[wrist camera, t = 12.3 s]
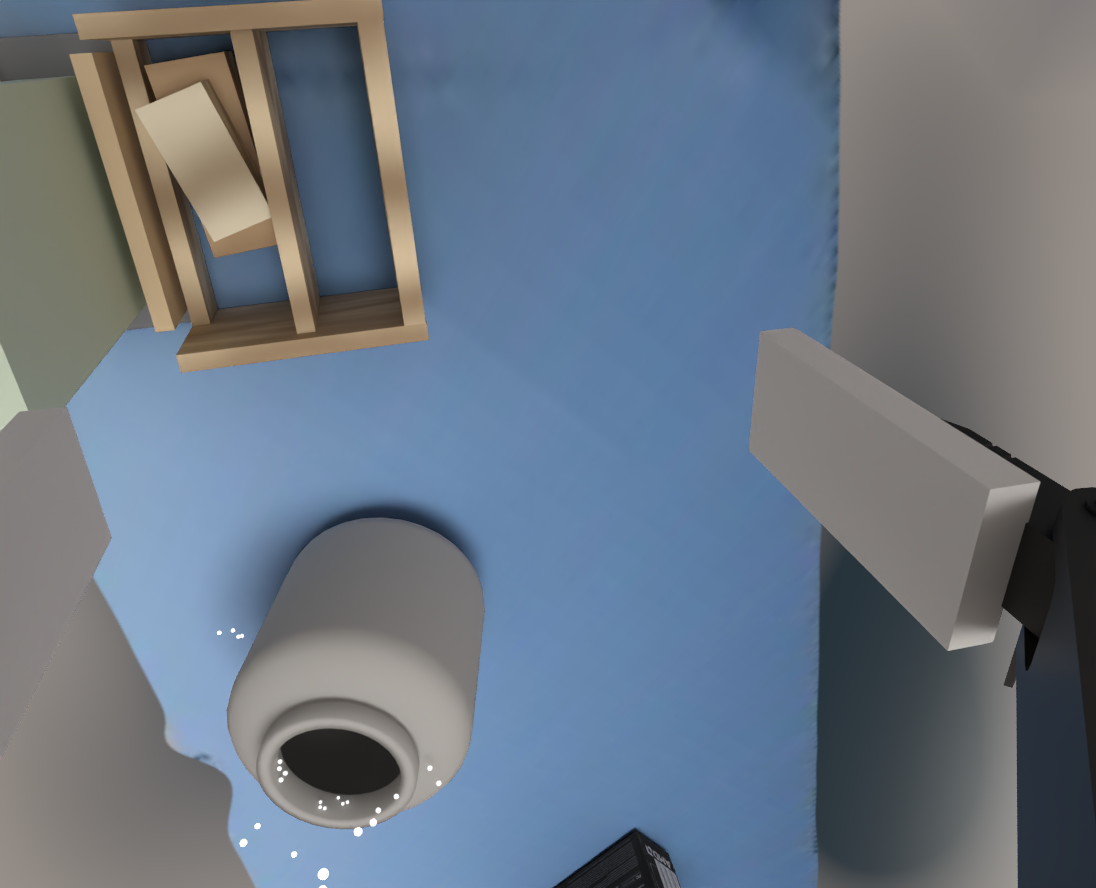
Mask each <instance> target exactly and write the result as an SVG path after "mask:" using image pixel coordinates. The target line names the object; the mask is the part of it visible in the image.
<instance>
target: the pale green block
mask: <svg viewBox="0 0 1096 888" xmlns="http://www.w3.org/2000/svg"><path fill="white" fill-rule="evenodd" d="M146 304H147V302H146V299H145V296H144V292H143V289H142V286H141V283H140V280H139V276H138V273H137V270H136V267H135V264H134V260H133V257H132V254H131V251H130V248H129V244H128V241H127V238H126V235H125V232H124V228H123V225H122V222H121V219H120V216H119V212H118V209H117V206H116V203H115V200H114V196H113V193H112V190H111V187H110V184H109V180H108V177H107V174H106V171H105V168H104V164H103V161H102V158H101V155H100V152H99V148H98V145H97V142H96V139H95V136H94V132H93V129H92V126H91V123H90V119H89V116H88V113H87V110H86V107H85V103H84V100H83V97H82V94H81V91H80V87H79V84H78V81H77V78H76V76H65V77H51V78H37V79H23V80H12V81H2V82H0V431H1V430H2V429H3V428H4V427H5V426H6V425H7V424H8V423H9V422H10V421H11V420H12V419H13V417H14V416H15V415H16V414H17V413H18V412H21V411H30V410H40V409H49V408H58V407H65V406H66V405H67V403H68V402H69V401H70V400H71V398H72V397H73V396H74V395H75V393H76V392H77V391H78V390H79V388H80V387H81V386H82V385H83V383H84V382H85V381H86V380H87V378H88V377H89V376H90V375H91V373H92V372H93V371H94V369H95V368H96V367H97V366H98V364H99V363H100V362H101V361H102V359H103V358H104V357H105V356H106V354H107V353H108V352H109V351H110V349H111V348H112V347H113V346H114V344H115V343H116V342H117V341H118V339H119V338H120V337H121V336H122V334H123V333H124V332H125V331H126V329H127V328H128V327H129V325H130V324H131V323H132V322H133V320H134V319H135V318H136V317H137V315H138V314H139V313H140V312H141V310H142V309H143V308H144V307H145V305H146Z"/></svg>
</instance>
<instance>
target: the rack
mask: <svg viewBox="0 0 1096 888" xmlns="http://www.w3.org/2000/svg"><path fill="white" fill-rule="evenodd" d="M72 15H73V18H74V21H75V24H76V28H77V31H78V34H79V38H80V40H109V41H111V44H112V47H113V51H114V54H115V58H116V61H117V65H118V68H119V72H120V75H121V79H122V82H123V86H124V89H125V93H126V96H127V100H128V103H129V106H130V110H131V113H132V117H133V120H134V124H135V127H136V131H137V134H138V138H139V141H140V145H141V148H142V152H143V155H144V159H145V162H146V166H147V169H148V172H149V176H150V179H151V183H152V186H153V190H154V193H155V197H156V200H157V204H158V207H159V211H160V214H161V218H162V221H163V225H164V228H165V232H166V235H167V239H168V242H169V245H170V249H171V252H172V256H173V259H174V263H175V266H176V270H177V273H178V277H179V280H180V284H181V287H182V291H183V294H184V298H185V301H186V305H187V308H188V311H189V315H190V318H191V322H192V325H193V327H192V328H191V330H190V332H189V334H188V335H187V337H186V339H185V341H184V342H183V344H182V346H181V348H180V349H179V351H178V353H177V355H176V357H177V360H178V363H179V367H180V370H181V373H183V372H191V371H198V370H206V369H213V368H221V367H228V366H236V365H243V364H251V363H258V362H266V361H273V360H281V359H288V358H296V357H303V356H311V355H319V354H326V353H334V352H341V351H349V350H356V349H364V348H371V347H379V346H386V345H394V344H401V343H409V342H416V341H424V340H429V336H428V329H427V322H426V319H425V314H424V307H423V300H422V293H421V286H420V278H419V271H418V264H417V257H416V250H415V243H414V236H413V229H412V222H411V215H410V207H409V200H408V193H407V186H406V179H405V172H404V165H403V158H402V151H401V144H400V136H399V129H398V122H397V115H396V108H395V101H394V94H393V87H392V80H391V73H390V65H389V58H388V51H387V44H386V37H385V30H384V23H383V21H384V15H383V8H382V1H381V0H304V1H288V2H271V3H254V4H237V5H220V6H203V7H186V8H170V9H153V10H136V11H119V12H102V13H85V14H72ZM345 26H357V32H358V38H359V44H360V51H361V57H362V64H363V70H364V77H365V83H366V90H367V96H368V102H369V109H370V115H371V122H372V128H373V135H374V141H375V148H376V154H377V160H378V167H379V173H380V180H381V186H382V193H383V199H384V205H385V212H386V218H387V225H388V231H389V238H390V244H391V251H392V257H393V263H394V270H395V276H396V283H397V287H396V288H388V289H380V290H371V291H363V292H355V293H347V294H338V295H330V296H322V297H320V294H319V289H318V284H317V279H316V274H315V269H314V264H313V259H312V254H311V250H310V245H309V240H308V235H307V230H306V225H305V220H304V215H303V210H302V205H301V201H300V196H299V191H298V186H297V181H296V176H295V171H294V166H293V161H292V156H291V151H290V147H289V142H288V137H287V132H286V127H285V122H284V117H283V112H282V107H281V102H280V98H279V93H278V88H277V83H276V78H275V73H274V68H273V63H272V58H271V53H270V48H269V44H268V39H267V34H266V32H269V31H284V30H299V29H315V28H330V27H345ZM223 34H231V39H232V43H233V48H234V52H235V57H236V61H237V66H238V70H239V75H240V79H241V84H242V88H243V93H244V97H245V102H246V106H247V111H248V115H249V120H250V124H251V129H252V133H253V138H254V142H255V147H256V151H257V156H258V160H259V164H260V169H261V173H262V178H263V182H264V187H265V191H266V196H267V200H268V205H269V209H270V214H271V218H272V223H273V227H274V232H275V236H276V241H277V245H278V250H279V254H280V259H281V263H282V268H283V272H284V277H285V281H286V286H287V290H288V294H289V299H290V300H289V301H281V302H272V303H264V304H256V305H248V306H239V307H231V308H223V309H218V307H217V303H216V300H215V296H214V292H213V289H212V285H211V281H210V277H209V274H208V270H207V266H206V263H205V259H204V255H203V251H202V248H201V244H200V240H199V236H198V233H197V229H196V225H195V222H194V218H193V214H192V210H191V207H190V203H189V199H188V198H187V196H186V195H185V193H184V191H183V190H182V188H181V186H180V185H179V183H178V181H177V180H176V178H175V176H174V175H173V173H172V171H171V170H170V168H169V166H168V165H167V163H166V161H165V160H164V158H163V156H162V155H161V153H160V151H159V150H158V148H157V146H156V145H155V143H154V141H153V140H152V138H151V136H150V135H149V133H148V131H147V130H146V128H145V126H144V125H143V123H142V121H141V120H140V118H139V116H138V115H137V113H136V111H135V110H136V109H139V108H141V107H143V106H146V105H148V104H150V103H153V102H155V101H157V100H156V97H155V94H154V92H153V89H152V86H151V83H150V81H149V78H148V75H147V73H146V70H145V67H144V65H150V64H152V62H151V58H150V54H149V51H148V47H147V43H146V39H161V38H177V37H192V36H207V35H223Z"/></svg>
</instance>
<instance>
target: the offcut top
mask: <svg viewBox="0 0 1096 888" xmlns="http://www.w3.org/2000/svg"><path fill="white" fill-rule="evenodd" d="M135 111H136V113H137V115H138V116H139V118H140V120H141V121H142V123H143V125H144V126H145V128H146V130H147V131H148V133H149V135H150V136H151V138H152V140H153V141H154V143H155V145H156V146H157V148H158V150H159V151H160V153H161V155H162V156H163V158H164V160H165V161H166V163H167V165H168V166H169V168H170V170H171V171H172V173H173V175H174V176H175V178H176V180H177V181H178V183H179V185H180V186H181V188H182V190H183V191H184V193H185V195H186V196H187V198H188V199H189V201H190V203H191V204H192V206H193V208H194V209H195V211H196V213H197V214H198V216H199V218H200V219H201V221H202V223H203V224H204V226H205V228H206V229H207V231H208V233H209V234H210V236H211V238H212V239H213V241H214V242H216V241H218V240H220V239H222V238H225V237H227V236H229V235H232V234H234V233H236V232H239V231H241V230H243V229H246V228H248V227H250V226H253V225H255V224H257V223H259V222H262V221H264V220H266V219H269V218H271V214H270V209H269V205H268V200H267V196H266V191H265V187H264V182H263V179H262V177H261V175H260V173H259V171H258V169H257V168H256V166H255V164H254V162H253V160H252V158H251V157H250V155H249V153H248V151H247V149H246V147H245V145H244V144H243V142H242V140H241V138H240V136H239V134H238V133H237V131H236V129H235V127H234V125H233V123H232V122H231V120H230V118H229V116H228V114H227V112H226V111H225V109H224V107H223V105H222V103H221V101H220V99H219V98H218V96H217V94H216V92H215V90H214V88H213V87H212V85H211V83H210V81H209V79H208V80H205V81H202V82H199V83H197V84H195V85H192V86H190V87H188V88H185V89H183V90H181V91H178V92H176V93H174V94H171V95H169V96H167V97H164V98H162V99H160V100H157V101H155V102H153V103H150V104H148V105H146V106H143V107H141V108H139V109H136V110H135Z"/></svg>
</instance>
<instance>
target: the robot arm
mask: <svg viewBox="0 0 1096 888" xmlns="http://www.w3.org/2000/svg"><path fill="white" fill-rule="evenodd" d="M749 451H750V452H751V453H752V454H753V455H754V456H755V457H756V458H757V459H758V460H759V461H760V462H761V463H762V464H763V465H764V466H765V467H766V468H767V469H768V470H769V471H770V472H771V473H772V474H773V475H774V476H775V477H776V478H777V479H778V480H779V481H780V482H781V483H782V484H783V485H784V486H785V487H786V488H787V489H788V490H789V491H790V492H791V493H792V494H793V495H794V496H795V497H796V498H797V499H798V500H799V501H800V502H801V503H802V504H803V505H804V506H805V507H806V508H807V509H808V510H809V511H810V512H811V513H812V514H813V515H814V516H815V518H816V519H817V520H818V521H819V522H820V523H821V524H822V525H823V526H824V527H825V528H827V530H829V532H830V533H831V534H832V535H833V536H834V537H835V538H836V539H837V540H838V541H839V542H840V543H841V544H842V545H843V546H844V547H845V548H846V549H847V550H848V551H849V552H850V553H851V554H852V555H853V556H854V557H855V558H856V559H857V560H858V561H859V562H860V563H861V564H862V565H863V566H864V567H865V568H866V569H867V570H868V571H869V572H870V573H871V574H872V575H873V576H874V577H875V578H876V579H877V580H878V581H879V582H880V583H881V584H882V585H883V586H884V587H885V588H886V589H887V590H888V591H889V592H890V593H891V594H892V595H893V596H894V597H895V598H896V599H897V600H898V601H899V602H900V603H901V604H902V605H903V606H904V607H905V608H906V609H907V610H908V611H909V612H910V613H911V614H912V615H913V616H914V617H915V618H916V619H917V620H918V621H919V622H920V623H921V624H922V625H923V626H924V627H925V628H926V629H927V631H928V632H929V633H931V635H932V636H934V638H935V639H936V640H937V641H938V642H939V643H940V644H942V646H943V647H944V648H945V649H946V650H947V651H950V650H955V649H960V648H965V647H970V646H975V645H980V644H986V643H991V642H993V641H994V637H995V634H996V631H997V627H998V624H999V620H1000V617H1001V614H1002V610H1003V608H1004V609H1005V610H1007V611H1008V612H1009V613H1010V614H1011V615H1012V616H1014V617H1015V618H1016V619H1017V620H1018V621H1020V622H1021V623H1022V624H1023V625H1022V629H1021V632H1020V635H1019V638H1018V641H1017V644H1016V648H1015V651H1014V654H1013V657H1012V660H1011V664H1010V667H1009V670H1008V673H1007V676H1006V679H1005V683H1004V685H1005V686H1008V687H1013V685H1014V683H1015V681H1016V686H1017V687H1016V692H1017V693H1016V695H1017V696H1016V697H1017V814H1018V815H1017V822H1018V823H1017V826H1018V827H1017V831H1018V888H1096V488H1093V487H1091V488H1080V489H1074V490H1072V491H1070V490H1068V489H1066V488H1064V487H1063V486H1061V485H1060V484H1058V483H1057V482H1055V481H1053V480H1052V479H1050V478H1048V477H1047V476H1045V475H1043V474H1042V473H1040V472H1039V471H1037V470H1035V469H1034V468H1032V467H1030V466H1029V465H1027V464H1025V463H1024V462H1022V461H1020V460H1019V459H1017V458H1011V454H1009V453H1007V452H1006V451H1004V450H1002V449H1001V448H999V447H998V446H992V443H991V442H990V441H988V440H986V439H985V438H983V437H981V436H980V435H978V434H977V433H975V432H973V431H972V430H970V429H968V428H965V427H962V426H959V425H957V424H954V423H951V422H948V421H945V420H943V419H940V418H938V417H936V416H935V415H933V414H932V413H930V412H928V411H927V410H925V409H924V408H922V407H921V406H919V405H917V404H916V403H914V402H913V401H911V400H909V399H908V398H906V397H905V396H903V395H901V394H900V393H898V392H897V391H895V390H893V389H892V388H890V387H888V386H887V385H885V384H884V383H882V382H881V381H879V380H877V379H876V378H874V377H873V376H871V375H869V374H868V373H866V372H865V371H863V370H861V369H860V368H858V367H856V366H855V365H853V364H851V363H850V362H849V361H847V360H845V359H844V358H842V357H840V356H839V355H837V354H836V353H834V352H833V351H831V350H829V349H828V348H826V347H825V346H823V345H821V344H820V343H818V342H817V341H815V340H813V339H812V338H810V337H809V336H807V335H805V334H804V333H802V332H801V331H799V330H797V329H796V328H787V329H778V330H768V331H760V340H759V350H758V360H757V371H756V381H755V391H754V402H753V412H752V422H751V433H750V443H749ZM111 538H112V537H111V534H110V531H109V528H108V525H107V522H106V519H105V516H104V514H103V511H102V508H101V505H100V502H99V499H98V496H97V493H96V490H95V487H94V484H93V481H92V479H91V476H90V473H89V470H88V467H87V464H86V461H85V458H84V455H83V452H82V449H81V447H80V444H79V441H78V438H77V435H76V432H75V429H74V426H73V423H72V420H71V417H70V415H69V412H68V409H67V407H58V408H49V409H40V410H30V411H21V412H18V413H17V414H16V415H15V416H14V417H13V419H12V420H11V421H10V422H9V423H8V424H7V425H6V426H5V427H4V428H3V429H2V430H1V431H0V761H1V759H2V757H3V755H4V753H5V751H6V749H7V747H8V745H9V743H10V741H11V739H12V737H13V735H14V733H15V731H16V729H17V727H18V725H19V723H20V721H21V719H22V717H23V715H24V713H25V711H26V709H27V707H28V705H29V703H30V700H31V699H32V696H33V695H34V693H35V691H36V689H37V687H38V685H39V683H40V681H41V679H42V677H43V675H44V672H45V671H46V669H47V667H48V665H49V663H50V660H51V659H52V656H53V655H54V653H55V651H56V649H57V647H58V645H59V643H60V641H61V639H62V637H63V634H64V633H65V631H66V628H67V627H68V625H69V623H70V620H71V618H72V617H73V615H74V613H75V611H76V609H77V606H78V605H79V603H80V601H81V598H82V597H83V594H84V593H85V591H86V588H87V587H88V585H89V583H90V580H91V579H92V577H93V575H94V573H95V571H96V568H97V566H98V564H99V562H100V560H101V558H102V556H103V554H104V552H105V550H106V548H107V546H108V544H109V542H110V540H111Z"/></svg>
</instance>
